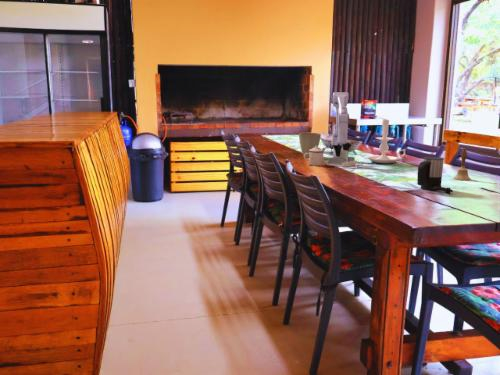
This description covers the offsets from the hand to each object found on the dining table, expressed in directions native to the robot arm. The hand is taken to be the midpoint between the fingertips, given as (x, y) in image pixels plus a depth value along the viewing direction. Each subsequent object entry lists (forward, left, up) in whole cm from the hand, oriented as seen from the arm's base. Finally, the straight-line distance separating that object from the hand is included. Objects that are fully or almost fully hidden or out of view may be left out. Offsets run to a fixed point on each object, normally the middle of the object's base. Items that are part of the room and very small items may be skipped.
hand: (341, 156), depth 282 cm
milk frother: (+30, +74, -6) cm, 80 cm away
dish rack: (0, 0, -5) cm, 5 cm away
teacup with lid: (+13, -12, -6) cm, 18 cm away
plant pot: (-11, -34, -6) cm, 37 cm away
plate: (0, 0, -4) cm, 4 cm away
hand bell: (-7, +70, -6) cm, 71 cm away
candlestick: (-28, +14, -6) cm, 32 cm away
